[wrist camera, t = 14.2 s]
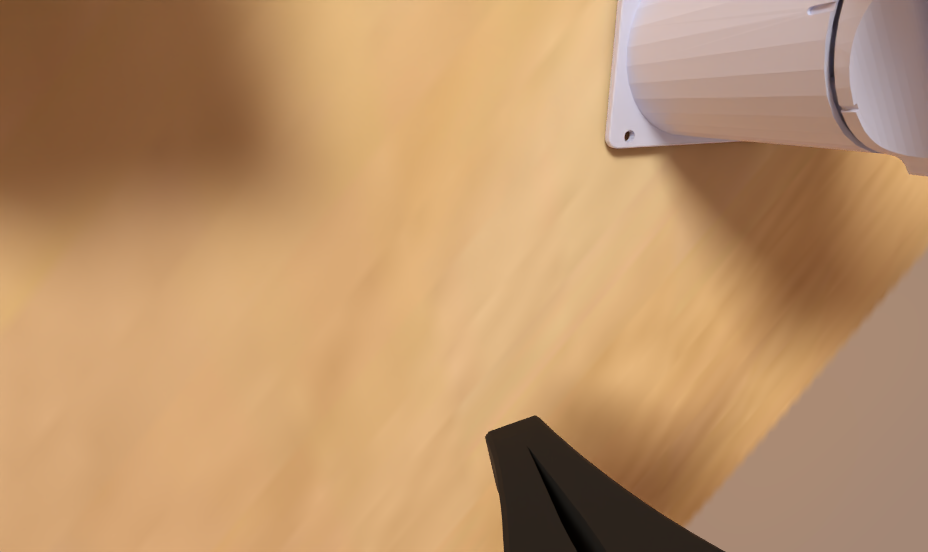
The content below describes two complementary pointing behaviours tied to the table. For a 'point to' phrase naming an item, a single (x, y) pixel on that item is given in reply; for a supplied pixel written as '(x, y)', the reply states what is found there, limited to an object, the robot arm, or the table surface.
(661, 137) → the robot arm
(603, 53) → the table surface
